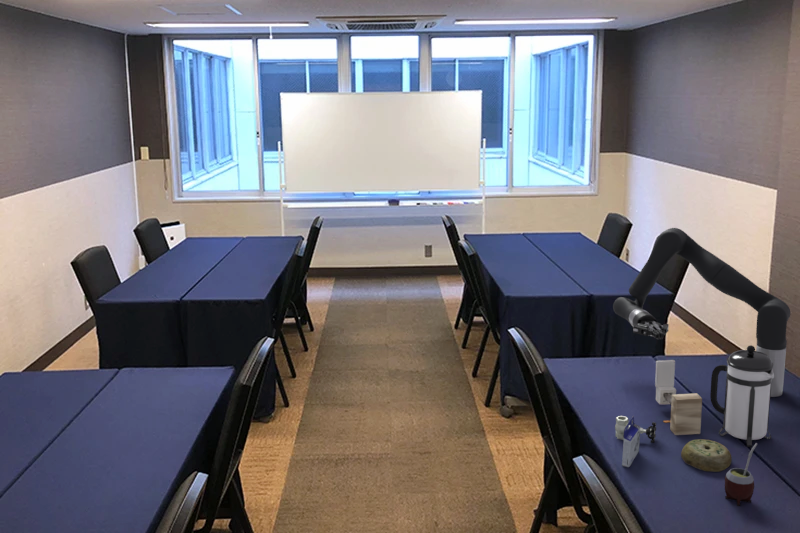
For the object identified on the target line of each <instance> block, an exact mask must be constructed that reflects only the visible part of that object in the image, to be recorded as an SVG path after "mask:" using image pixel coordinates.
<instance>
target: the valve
mask: <svg viewBox="0 0 800 533" xmlns="http://www.w3.org/2000/svg"><path fill="white" fill-rule="evenodd" d="M629 421H630V420H629V418H628V417H627V416H624V415H618V416H616V417H615V426H614V429H615V438H616V437H617V438H616V439H617V440H622V441H624V428H625V427H626V425H627V424H628V423H629ZM629 427H630V426H629ZM629 427H628V428H629ZM656 431H657V422H655V421H653V422H651V425H650V426H648V428H646V429H644V428H643V427H640V435H643V434H645V435H646V436H647V438H648V439H649V440H650V443H651V444H655V443H656V442H655V441H656V439H655V438H656V437H657V434H656Z"/></svg>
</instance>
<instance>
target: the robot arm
mask: <svg viewBox="0 0 800 533" xmlns="http://www.w3.org/2000/svg"><path fill="white" fill-rule="evenodd" d="M675 255H677V256H679V257H681V258H682V259H684V260H685V261H686V262H688V263H689V264H691V266H692V267H693V268H694V269H695V270H696V271H697V273H698V274H699V275H700V276H701V277H702V278H703V279H704V281H706V282H707V284H710V285H711V286H712V287H714V288H715V289H716V290H718V291H719V292H721V293H723V294H725V295H727V296H729V297H731V298H735V299H737V300H739V301H742V302H744V303H745V304H747V305H748V306H750V307H751V308H753V309H754V310H755V311H756V312H757V315H756V328H755V329H756V332H755V335H756V336H755V338H756V348H755V351H758V352H761V353H764V354H766V355H767V356H769V357H770V359H771V361H772V362H773V364H774V367H773V373H774V378H772V382H771V395H770V398H775V397H781V396H782V395H783V392H784V391H783V389H784V381H785V380H784V379H785V370H786V369H785V368H786V367H785V366H786V357H787V356H786V355H787V354H786V353H787V344H788V343H787V342H788V340H787V326H788V325H787V324H788V321H789V320H790V317H791V309H790V307H789V305H788V304H787V303H786V302H785V301H784V300H782V299H780V298H779V297H777V296H774V295H773V294H771V293H770V292H768V291H766V290H764V289H763V288H761V287H759V286H758V285H756V283H754V282H753V281H751V279H749V278H748V277H746V276H745V275H744V274H743V273H740V271H738V270H737V269H735V268H734V267H732V266H731V265H730V264H729V263H727V262H725V261H724V260H723V259H721V258H719V257H718V256H717V255H715V254H714V253H712V252H710V251H709V250H707V249H705V248H704V247H702V246H701V244H699V243H698V242H696V241H695V240H694V239H693V238H692V237H691V236H690V235H689V234H687V233H686V232H685V231H684V230H682V229H680V228H677V227H670V228H668V229H665V230H664V231H662V232H661V233H659V235H658V237H657V239H656V242H655V244H654V246H653V249H652V251H651V253H650V255H649V257H648V258H647V261H646V263H644V266H643V267H642V269H641V270H640V272H639V273H638V274H637V276H636V277H635V279H634V280H633V282H632V283H631V284H630V286H629V288H628V293H629V295H630V296H631V297H633V298H634V300H632V299H630V298H627V297H622V296H620V297H617V298H616V299H615V300H614V302H613V304H612V308H613V312H614V313H615V315H617V316H619V317H621V318H622V319H624V320H626V321H627V322H628V323H629V324H630V325H631V326H632V328H633V329H632V330H633V332H632V333H633V334H638V335H641V336H645V337H649V336H650V337H653V338H654V339H656V340H663V339H664V338H665V335H666V334H667V333H668V332H669V330H670V328H669V325H670V324H669V323H665V324H663V325H662V323H660V322H658V321H657V319H656V317H655V316H653V315H652V314H651V313H649V312H648V311H647V310H645V309H643V308H644V304H645V302H646V299H647V297H648V295H649V294H650V292H651V291H652V289H653V288H654V286H655V284H656V282H657V281H658V279H659V277H660V275H661V273H662V270H663V269H664V267H665V266H666V265H667V264H668V262H669V261H670V260H671V259H672V258H673V257H674V256H675Z"/></svg>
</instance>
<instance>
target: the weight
mask: <svg viewBox="0 0 800 533" xmlns="http://www.w3.org/2000/svg"><path fill="white" fill-rule="evenodd" d="M680 452H681V453H680V457H681V459H682V460H683V462H684V463H685V464H687V465H689V466H691V467H693V468H695V469H698V470H700V471H704V472H712V473H713V472H715V473H716V472H722V471H725V470H726V469H727V468H729V467H730V466H731V465H732V458H733V457H732V454H731V451H730V450H729V449H728V448H727V447H726V446H725V445H723V444H722V443H720V442H718V441H715V440H710V439H705V438H704V439H702V438H700V439H699V438H697V439H692V440H689V441H688V442H687V443H686V444H685V445H684V446H683V447H682V449H681V451H680Z"/></svg>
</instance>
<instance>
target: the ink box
mask: <svg viewBox="0 0 800 533" xmlns="http://www.w3.org/2000/svg"><path fill="white" fill-rule="evenodd" d="M629 426H630V427H629ZM628 427H629V428H628ZM640 428H641V426H640V425H638V424H637V423H635V416H634V415H632V417H631V418H630V420H629V421H628V424H627V425H626V427H625V428H624V440H623V446H622V460H621V466H622V467H626V468H629V467H631V465H632V464H633V462H634V461H635V460H634V459H635V458H636V457H637V455H638V453H639V450H640V440H641V439H640V438H641V434H640Z"/></svg>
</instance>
